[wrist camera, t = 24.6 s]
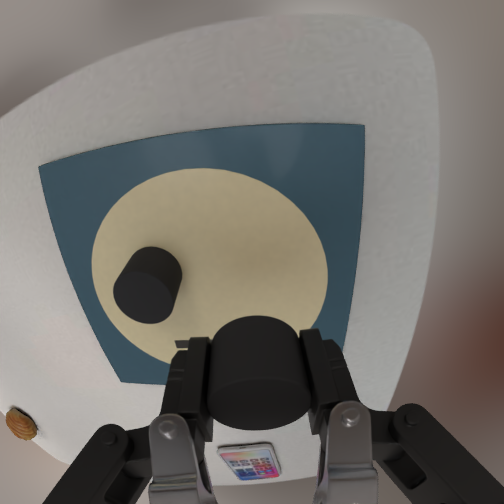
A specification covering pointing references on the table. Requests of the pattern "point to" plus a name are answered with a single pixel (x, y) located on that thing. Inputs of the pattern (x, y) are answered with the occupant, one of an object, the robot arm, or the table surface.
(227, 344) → the black short cylinder
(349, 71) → the table surface
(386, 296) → the table surface
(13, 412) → the pastry
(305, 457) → the table surface
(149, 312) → the black short cylinder
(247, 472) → the smartphone
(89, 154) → the face board
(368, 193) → the table surface
